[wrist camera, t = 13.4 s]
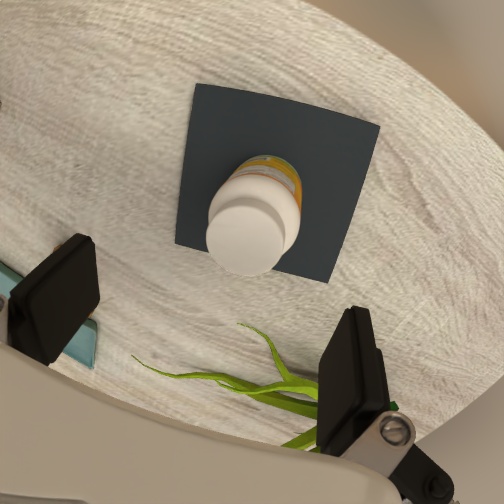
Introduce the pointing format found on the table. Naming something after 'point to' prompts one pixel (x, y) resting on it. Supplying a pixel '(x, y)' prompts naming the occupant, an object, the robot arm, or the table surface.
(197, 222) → the mat
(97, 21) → the table surface
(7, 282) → the teal serving tray
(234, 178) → the supplement bottle
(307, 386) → the decorative plant
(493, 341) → the table surface
